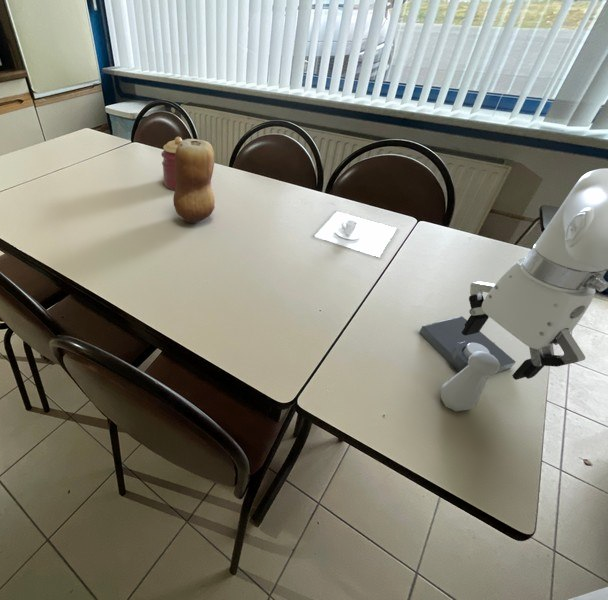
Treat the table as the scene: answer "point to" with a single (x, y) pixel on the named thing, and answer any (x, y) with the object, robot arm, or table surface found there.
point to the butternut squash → (194, 180)
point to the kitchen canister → (170, 162)
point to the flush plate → (460, 343)
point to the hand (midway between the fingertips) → (493, 353)
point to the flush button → (474, 349)
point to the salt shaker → (469, 382)
